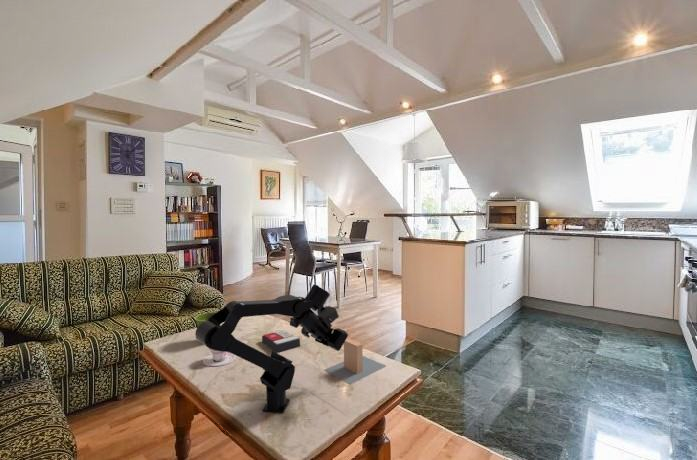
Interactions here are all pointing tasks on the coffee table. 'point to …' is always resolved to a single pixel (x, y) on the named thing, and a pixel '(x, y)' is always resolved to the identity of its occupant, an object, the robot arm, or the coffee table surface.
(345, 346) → the peach rectangular block
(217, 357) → the teacup
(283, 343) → the red and grey box
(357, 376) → the mat
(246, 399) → the coffee table surface
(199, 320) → the plant pot
